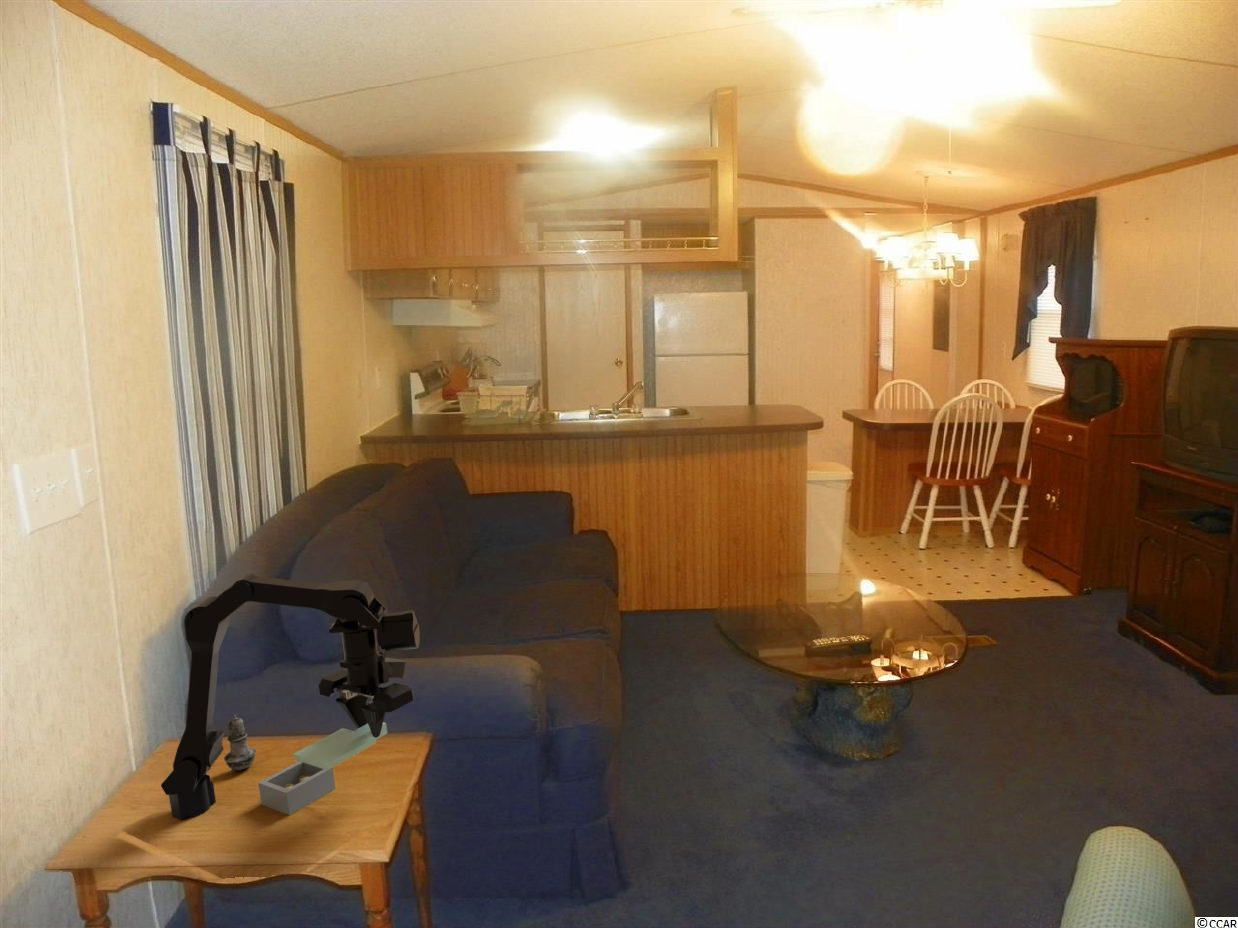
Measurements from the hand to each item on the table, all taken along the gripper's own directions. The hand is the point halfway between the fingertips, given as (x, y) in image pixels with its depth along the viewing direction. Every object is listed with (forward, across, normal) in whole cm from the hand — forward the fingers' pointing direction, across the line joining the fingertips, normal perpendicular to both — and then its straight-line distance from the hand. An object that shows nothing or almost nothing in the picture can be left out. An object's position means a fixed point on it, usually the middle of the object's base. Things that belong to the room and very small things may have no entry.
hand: (370, 734), depth 164 cm
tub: (+12, +12, +8) cm, 19 cm away
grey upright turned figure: (+12, +32, +6) cm, 35 cm away
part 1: (+11, +12, +10) cm, 19 cm away
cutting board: (0, 0, +5) cm, 5 cm away
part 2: (+11, +12, +6) cm, 17 cm away
